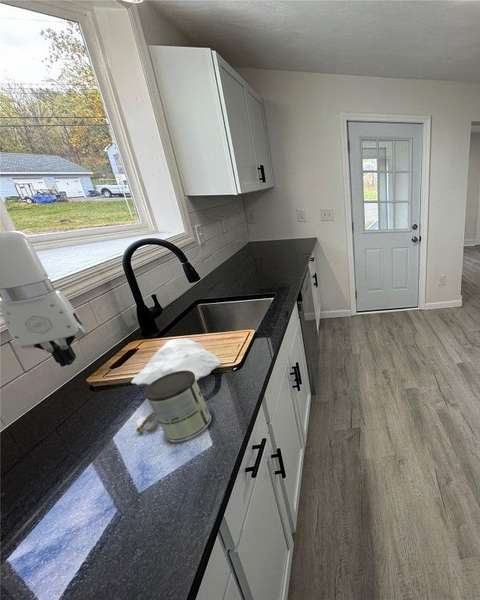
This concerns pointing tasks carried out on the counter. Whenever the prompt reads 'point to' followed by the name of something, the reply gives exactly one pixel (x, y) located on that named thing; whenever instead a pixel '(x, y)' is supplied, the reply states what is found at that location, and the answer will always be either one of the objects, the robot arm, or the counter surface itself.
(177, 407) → the coffee can
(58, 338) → the robot arm
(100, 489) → the counter surface
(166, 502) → the counter surface
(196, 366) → the crumpled cloth
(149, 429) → the tongs
